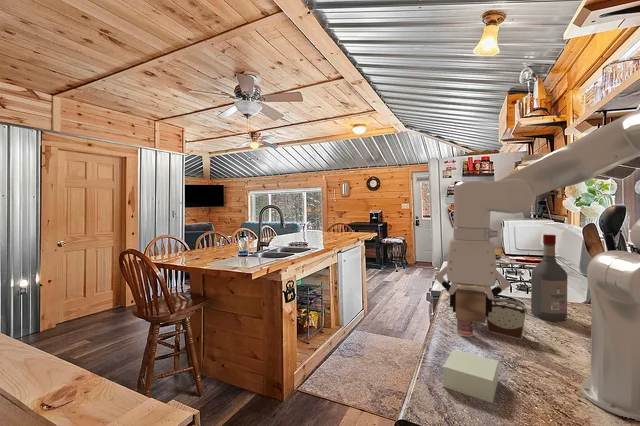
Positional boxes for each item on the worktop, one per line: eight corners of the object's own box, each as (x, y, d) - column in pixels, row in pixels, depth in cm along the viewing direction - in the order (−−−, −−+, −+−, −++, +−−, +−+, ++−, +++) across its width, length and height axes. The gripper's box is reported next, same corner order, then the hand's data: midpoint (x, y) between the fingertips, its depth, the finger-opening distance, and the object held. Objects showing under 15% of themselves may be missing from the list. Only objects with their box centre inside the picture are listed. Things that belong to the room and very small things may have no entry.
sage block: (498, 381, 72) (498, 360, 72) (492, 404, 64) (492, 380, 64) (453, 368, 78) (453, 349, 78) (442, 387, 70) (442, 366, 70)
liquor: (571, 321, 107) (572, 236, 106) (544, 321, 107) (545, 236, 106) (552, 312, 116) (553, 233, 115) (527, 312, 116) (528, 233, 115)
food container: (531, 334, 97) (531, 303, 97) (527, 341, 92) (527, 308, 92) (488, 324, 105) (488, 295, 105) (482, 330, 101) (482, 300, 100)
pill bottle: (475, 337, 95) (475, 311, 95) (458, 336, 96) (458, 310, 96) (470, 331, 100) (470, 306, 100) (455, 330, 101) (455, 305, 100)
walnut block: (484, 314, 72) (484, 289, 72) (485, 323, 67) (485, 296, 67) (456, 310, 75) (457, 286, 75) (455, 318, 69) (455, 292, 69)
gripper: (513, 235, 70) (512, 313, 70) (433, 232, 77) (432, 302, 78) (517, 238, 63) (516, 324, 63) (429, 234, 71) (428, 311, 71)
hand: (470, 311), depth 71 cm, fingers closed on walnut block, 6 cm apart
